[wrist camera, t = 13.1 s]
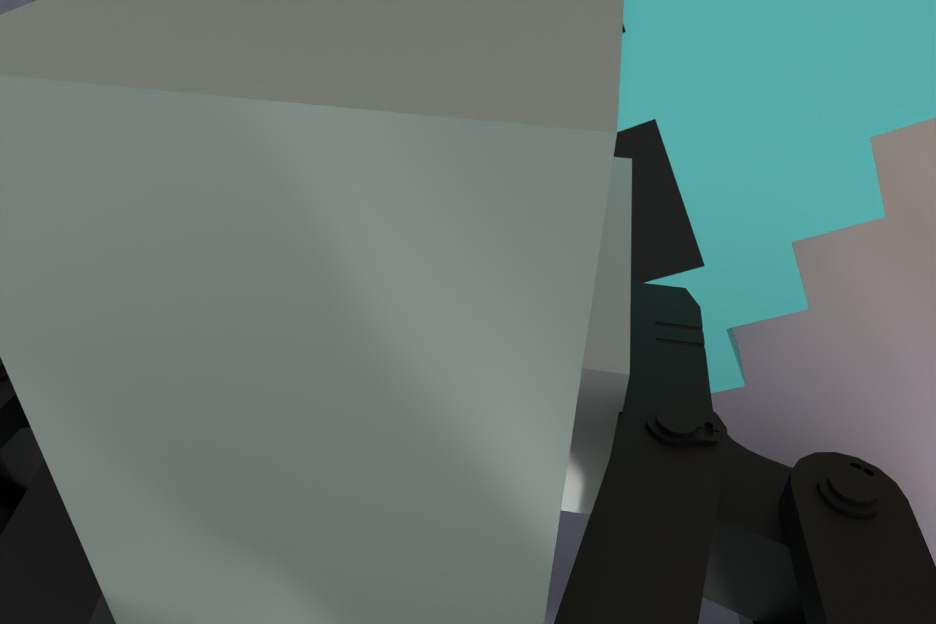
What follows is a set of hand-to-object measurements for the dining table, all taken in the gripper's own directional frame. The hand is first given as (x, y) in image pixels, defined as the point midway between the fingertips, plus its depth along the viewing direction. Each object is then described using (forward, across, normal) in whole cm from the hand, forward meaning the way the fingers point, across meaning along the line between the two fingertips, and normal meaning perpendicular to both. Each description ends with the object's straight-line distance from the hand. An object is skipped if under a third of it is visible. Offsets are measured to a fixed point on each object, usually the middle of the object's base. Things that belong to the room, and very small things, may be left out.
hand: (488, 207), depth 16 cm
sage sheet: (+4, 0, 0) cm, 4 cm away
